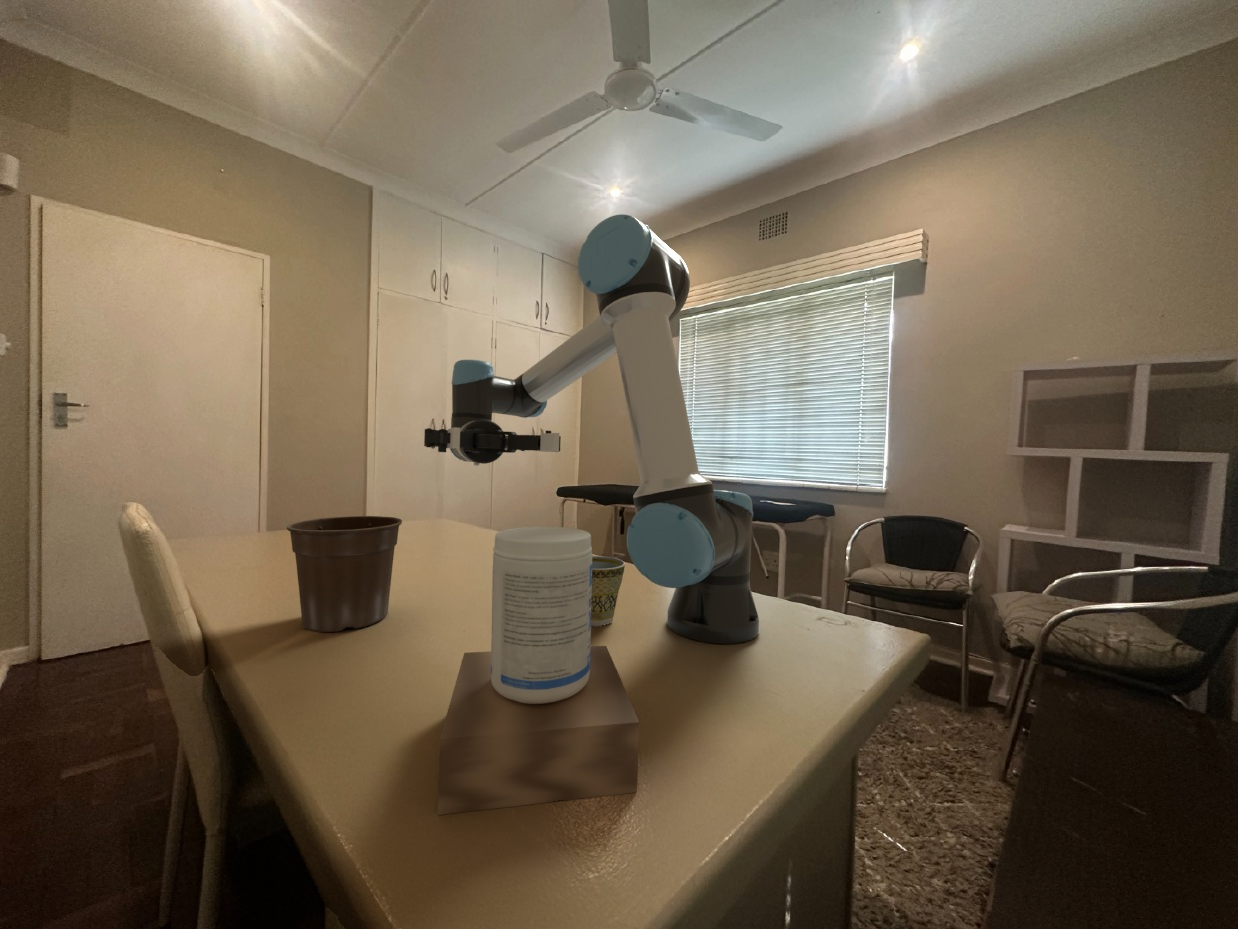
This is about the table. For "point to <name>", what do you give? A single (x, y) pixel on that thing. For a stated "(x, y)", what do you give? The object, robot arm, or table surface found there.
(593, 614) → the ceramic cup
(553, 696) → the supplement tub
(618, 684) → the block
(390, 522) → the plant pot
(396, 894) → the table surface
